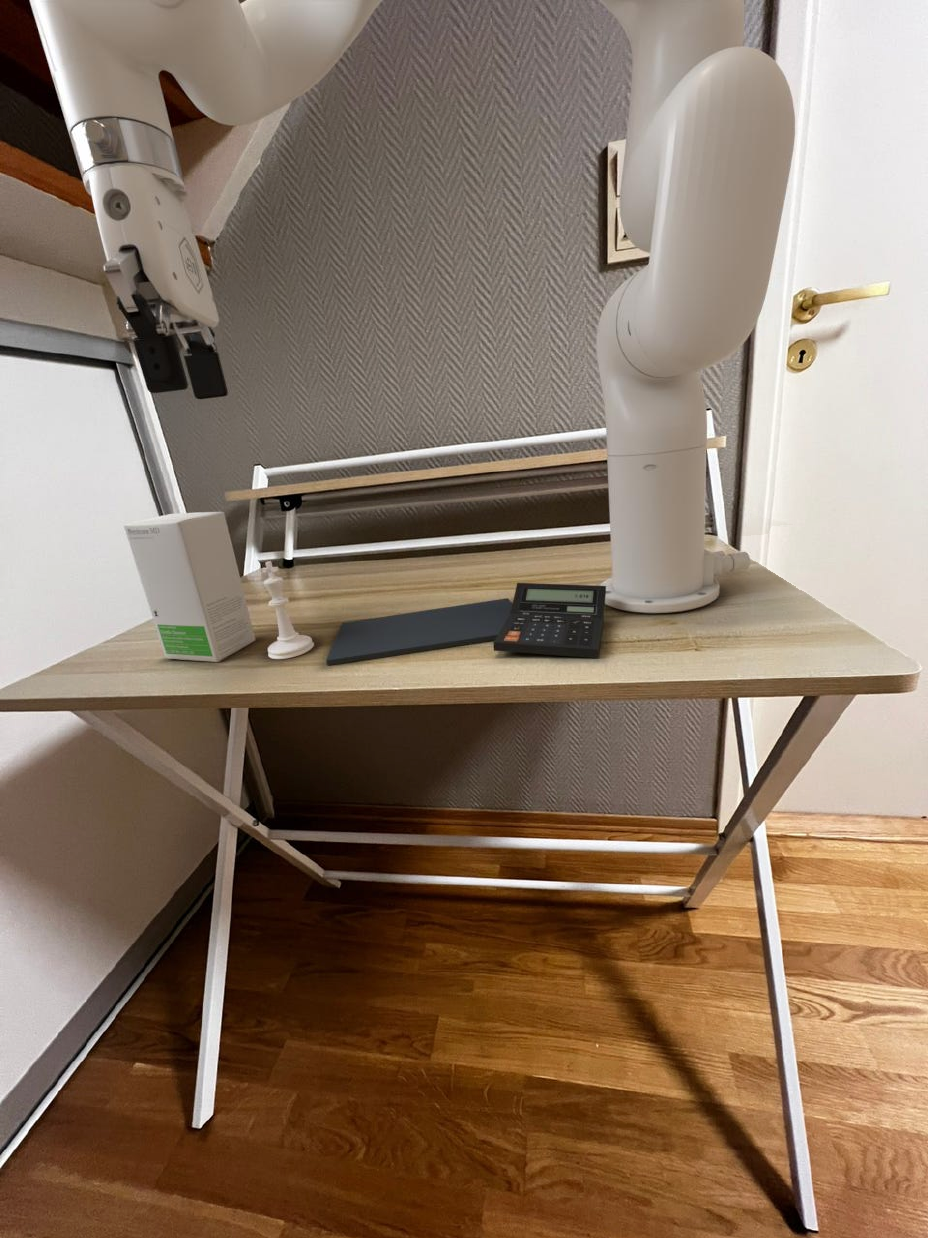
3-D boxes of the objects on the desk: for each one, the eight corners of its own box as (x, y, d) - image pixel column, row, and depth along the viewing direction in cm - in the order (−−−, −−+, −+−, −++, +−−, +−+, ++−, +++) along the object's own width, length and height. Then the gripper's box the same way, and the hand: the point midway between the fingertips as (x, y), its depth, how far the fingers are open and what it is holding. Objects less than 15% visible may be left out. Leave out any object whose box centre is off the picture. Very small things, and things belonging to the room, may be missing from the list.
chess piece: (300, 658, 56) (276, 566, 53) (259, 660, 57) (233, 570, 54) (321, 640, 61) (300, 554, 57) (282, 641, 62) (260, 557, 58)
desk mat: (508, 602, 64) (508, 597, 64) (524, 635, 54) (524, 630, 54) (343, 627, 64) (342, 622, 64) (327, 665, 53) (325, 660, 53)
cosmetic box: (164, 660, 61) (116, 525, 56) (208, 637, 67) (168, 513, 62) (220, 662, 58) (175, 520, 53) (261, 638, 64) (224, 507, 59)
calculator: (493, 650, 50) (492, 620, 48) (518, 607, 60) (518, 581, 59) (597, 658, 47) (598, 626, 46) (605, 611, 57) (606, 584, 56)
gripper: (122, 106, 36) (195, 381, 42) (216, 206, 52) (259, 395, 58) (9, 118, 36) (98, 393, 42) (139, 215, 52) (190, 403, 58)
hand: (192, 394), depth 50 cm, fingers open, 9 cm apart
